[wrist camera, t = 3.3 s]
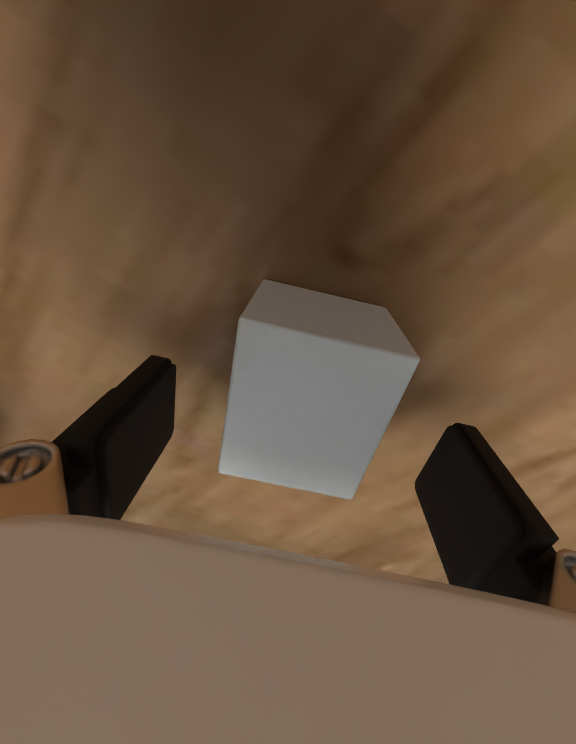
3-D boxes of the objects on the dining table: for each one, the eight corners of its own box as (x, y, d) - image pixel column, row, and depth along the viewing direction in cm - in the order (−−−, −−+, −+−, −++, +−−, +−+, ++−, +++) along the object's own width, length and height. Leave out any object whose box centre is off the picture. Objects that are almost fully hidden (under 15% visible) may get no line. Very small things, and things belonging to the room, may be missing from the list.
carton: (263, 278, 12) (238, 316, 8) (386, 306, 12) (422, 358, 8) (242, 401, 15) (217, 473, 11) (341, 422, 15) (352, 501, 11)
